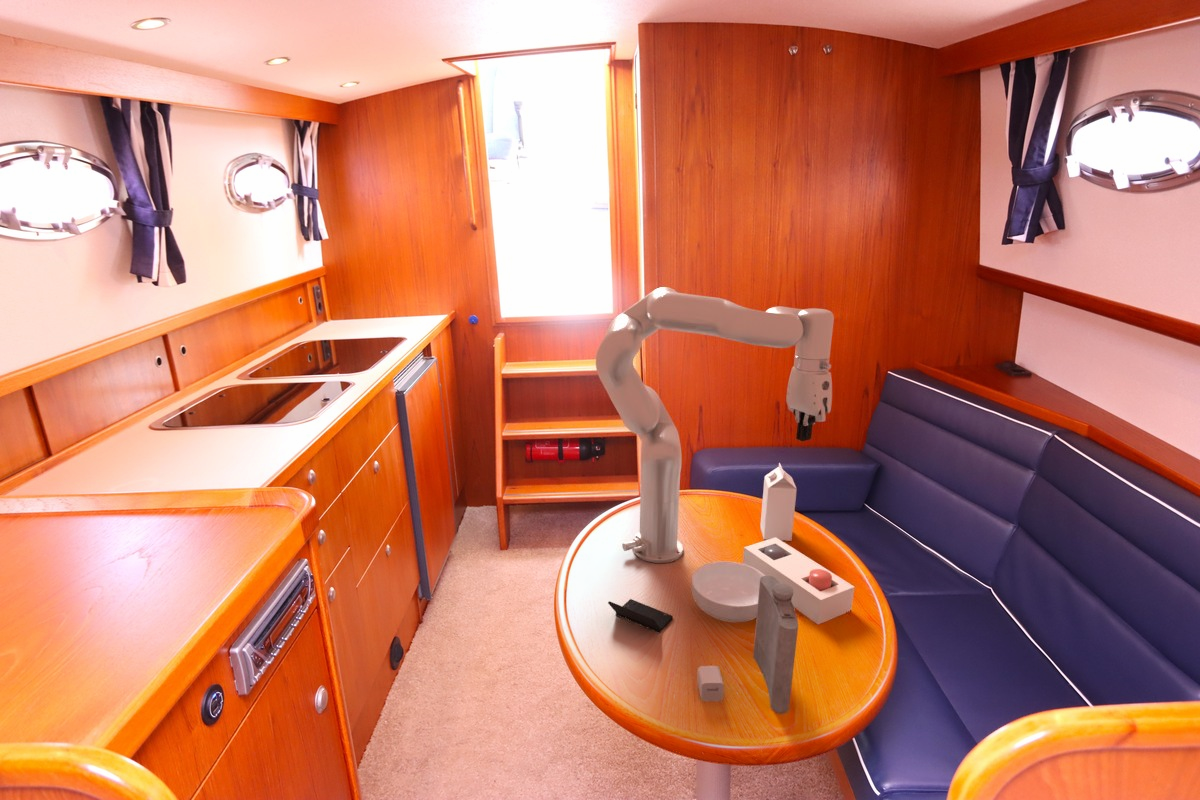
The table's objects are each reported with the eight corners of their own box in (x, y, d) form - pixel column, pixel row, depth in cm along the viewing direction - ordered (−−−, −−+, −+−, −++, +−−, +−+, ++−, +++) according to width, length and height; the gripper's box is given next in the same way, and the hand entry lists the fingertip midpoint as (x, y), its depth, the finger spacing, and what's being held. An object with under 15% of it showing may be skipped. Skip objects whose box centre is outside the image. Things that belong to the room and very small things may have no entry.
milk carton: (786, 528, 177) (793, 463, 172) (791, 541, 171) (798, 474, 165) (760, 526, 178) (765, 462, 172) (763, 540, 171) (769, 473, 166)
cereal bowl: (682, 624, 138) (683, 595, 136) (698, 581, 153) (700, 555, 151) (764, 642, 133) (767, 612, 131) (773, 596, 148) (775, 569, 146)
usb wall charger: (700, 701, 118) (701, 682, 116) (694, 674, 124) (695, 656, 123) (722, 701, 118) (724, 682, 116) (715, 674, 124) (717, 656, 123)
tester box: (817, 624, 138) (820, 600, 136) (742, 569, 158) (743, 547, 156) (851, 610, 143) (854, 586, 141) (773, 558, 163) (775, 537, 161)
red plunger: (818, 605, 141) (821, 583, 139) (802, 594, 145) (805, 572, 143) (833, 599, 143) (836, 577, 141) (817, 588, 147) (820, 567, 145)
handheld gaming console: (676, 606, 141) (662, 589, 134) (669, 640, 138) (654, 624, 130) (627, 599, 147) (611, 582, 139) (619, 632, 143) (602, 615, 136)
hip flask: (751, 652, 130) (759, 563, 124) (772, 652, 130) (780, 563, 124) (773, 713, 115) (783, 616, 109) (796, 713, 115) (807, 616, 109)
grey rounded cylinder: (772, 578, 153) (774, 557, 151) (758, 568, 157) (760, 548, 155) (787, 572, 155) (789, 552, 153) (773, 563, 159) (775, 543, 157)
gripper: (849, 369, 145) (839, 447, 150) (799, 355, 157) (792, 427, 163) (824, 373, 141) (815, 453, 147) (775, 358, 154) (769, 432, 159)
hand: (803, 439), depth 155 cm, fingers closed
